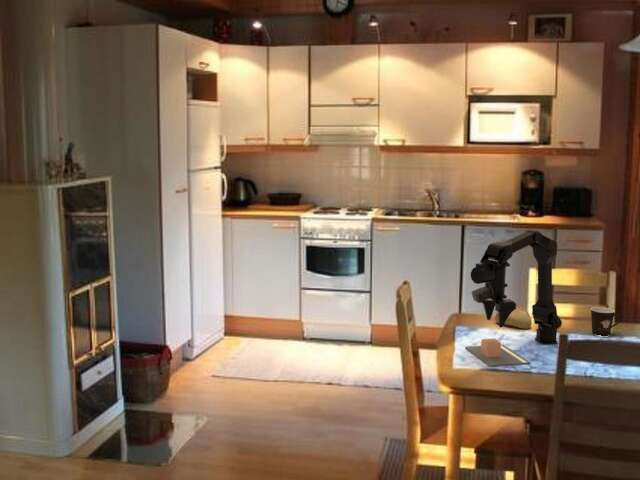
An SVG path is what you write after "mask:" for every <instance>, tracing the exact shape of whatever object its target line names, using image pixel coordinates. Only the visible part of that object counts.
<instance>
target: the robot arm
mask: <svg viewBox="0 0 640 480" xmlns="http://www.w3.org/2000/svg"><path fill="white" fill-rule="evenodd" d="M528 246H529V247H530V248H531V249H532V254H533V255H532V256H533V257H534V258H535V261H536V262H537V300H536V302H535V304H532V306H531V308H532V311H531V312H532V313H531V316H532V318H533V322H534V324H535V325H537V328H536V334H535V335H536V337H535V338H534V340H535V341H537V342H539V343H540V344H542V345H551V344H552V345H553V344H558V343H559V341H558V340H557V335H558V329H560V328H561V327H562V324H563V321H562V320H561V318H560V317H559V315H558V312H557V311H558V310H557V306H556V304H555V303H554V301H553V262H554V260H555V258H556V257H557V252H558V244H557V241H556V240H554V239H551V238H549V237H548V236H546V235H543V234H542V233H541V232H540V231H538V230H533V229H532V230H531V229H528V230H526V231H525V232H523V233H520V234H519V235H516V236H514V237H513V238H510V239H508V240H506V241H496V242H493V243H490V244H488V246H487V248H486V250H485V251H484V254H483V255H482V257H481V260H480V261H479V262H478V263H475V266H474V267H473V268H472V269H471V272H470V279H471V281H472V282H473V283H474V284H475V285H479V284H484V286H482V287H479V288H477V289H475V290H472V291H471V295H472V298H473V301H474V302H476V303H478V304H480V303H481V304H482V306H483V308H484V309H483V310H484V312H485V316H486V320H487V321H491V319H492V315H493V313H494V310H495V311H496V313H497V312H498V321H499V323H498V327H499V328H503V327H504V325H505V322H506V320H507V318H508V317H509V315H510V314H511V312H512V311H514V310H516V306H517V303H516V302H515V301H513V300H512V299H510V298H508V297H507V295H506V293H505V292H506V291H505V290H506V287H507V288H508V283H506V271H507V270H506V269H507V267H511V264H510V263H509V262H508V261H509V259H511V258H513V255H514V254H515V253H516V252H518V251H520V250H522V249H525V248H526V247H528ZM557 342H558V343H557Z"/></svg>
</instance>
